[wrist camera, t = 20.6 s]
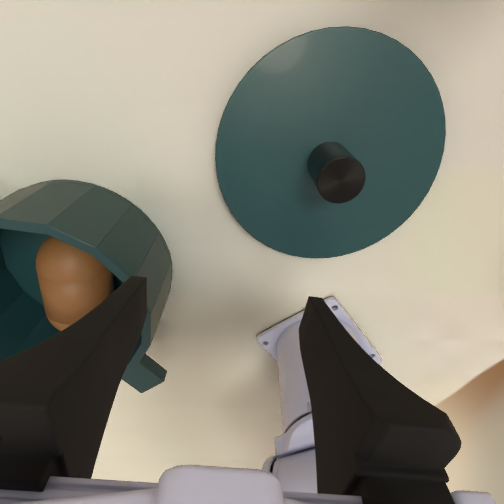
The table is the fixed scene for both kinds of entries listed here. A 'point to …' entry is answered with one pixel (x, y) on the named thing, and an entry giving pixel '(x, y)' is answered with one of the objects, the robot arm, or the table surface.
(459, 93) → the table surface
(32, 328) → the pot
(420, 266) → the table surface
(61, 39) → the table surface
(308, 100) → the pot lid
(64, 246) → the brown cylinder
